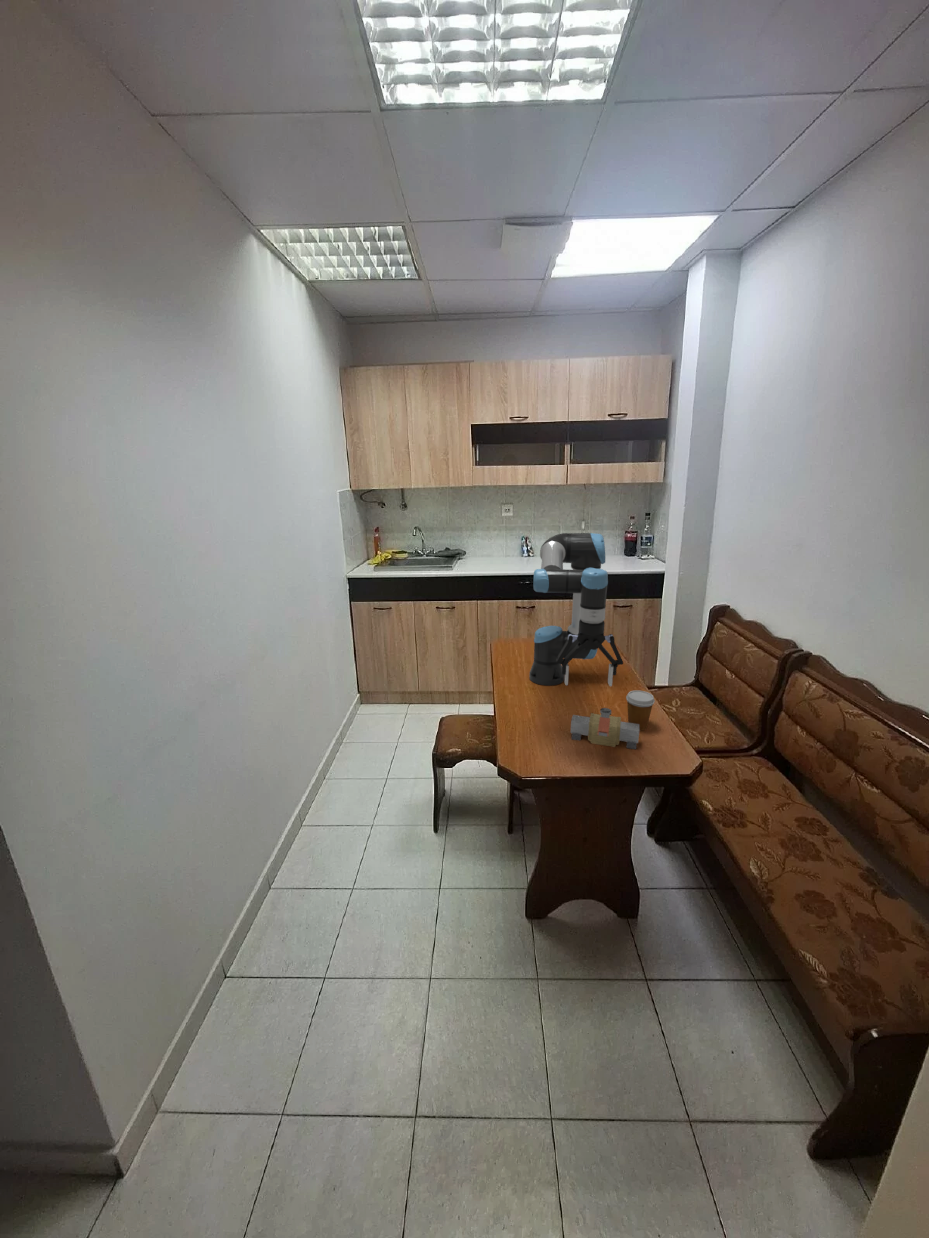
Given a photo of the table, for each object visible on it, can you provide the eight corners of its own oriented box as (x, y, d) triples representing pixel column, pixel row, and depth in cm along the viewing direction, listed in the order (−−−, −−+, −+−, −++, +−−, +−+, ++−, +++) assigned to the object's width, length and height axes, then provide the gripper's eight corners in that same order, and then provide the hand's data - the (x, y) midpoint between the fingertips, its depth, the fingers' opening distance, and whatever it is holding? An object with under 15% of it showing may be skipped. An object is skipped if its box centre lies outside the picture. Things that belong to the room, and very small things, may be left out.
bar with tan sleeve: (569, 739, 166) (571, 714, 163) (572, 729, 173) (573, 705, 170) (637, 750, 159) (640, 724, 156) (637, 739, 166) (640, 714, 163)
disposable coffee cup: (648, 735, 168) (651, 704, 164) (620, 728, 173) (623, 698, 169) (654, 723, 176) (657, 693, 172) (627, 716, 181) (630, 687, 177)
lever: (600, 710, 165) (600, 706, 165) (611, 712, 164) (611, 708, 164) (596, 735, 150) (597, 731, 150) (608, 737, 149) (609, 733, 148)
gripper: (551, 623, 145) (549, 688, 151) (637, 624, 143) (631, 689, 149) (549, 616, 152) (547, 678, 159) (631, 616, 150) (625, 679, 156)
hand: (587, 684), depth 154 cm, fingers open, 13 cm apart
